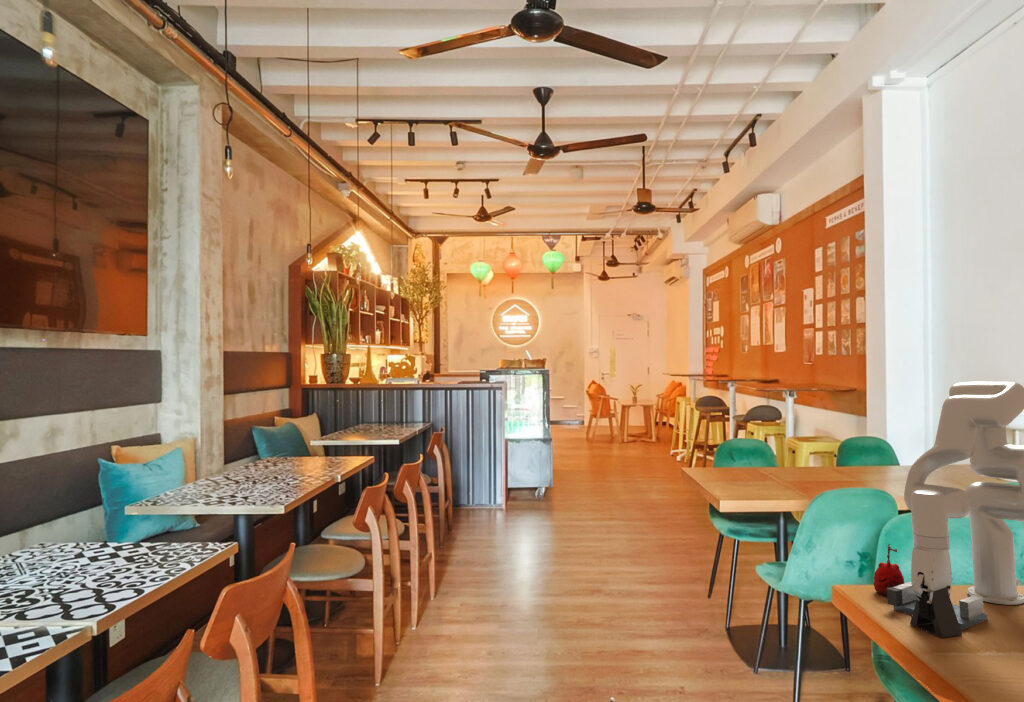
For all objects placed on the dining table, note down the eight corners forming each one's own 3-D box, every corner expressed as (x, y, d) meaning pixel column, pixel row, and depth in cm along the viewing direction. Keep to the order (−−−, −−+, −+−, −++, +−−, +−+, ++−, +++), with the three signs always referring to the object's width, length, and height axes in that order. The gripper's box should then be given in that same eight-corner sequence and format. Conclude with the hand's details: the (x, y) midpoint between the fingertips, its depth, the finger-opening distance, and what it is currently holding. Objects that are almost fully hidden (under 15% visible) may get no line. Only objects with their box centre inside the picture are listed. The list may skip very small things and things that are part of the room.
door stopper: (962, 635, 152) (959, 584, 153) (942, 638, 151) (939, 587, 151) (928, 621, 161) (926, 573, 161) (909, 624, 159) (907, 576, 160)
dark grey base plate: (919, 600, 175) (918, 580, 176) (987, 619, 161) (985, 597, 161) (893, 609, 170) (892, 588, 170) (961, 630, 155) (960, 607, 155)
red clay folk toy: (903, 592, 182) (900, 539, 183) (906, 600, 176) (904, 545, 176) (873, 589, 185) (870, 537, 186) (875, 597, 179) (872, 543, 179)
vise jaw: (917, 593, 176) (916, 579, 176) (926, 596, 173) (926, 581, 173) (887, 603, 169) (886, 588, 169) (897, 606, 167) (896, 591, 167)
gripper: (933, 533, 164) (937, 603, 163) (895, 543, 156) (898, 618, 155) (966, 539, 157) (970, 612, 157) (927, 550, 149) (931, 628, 148)
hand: (934, 614), depth 156 cm, fingers closed on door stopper, 6 cm apart
